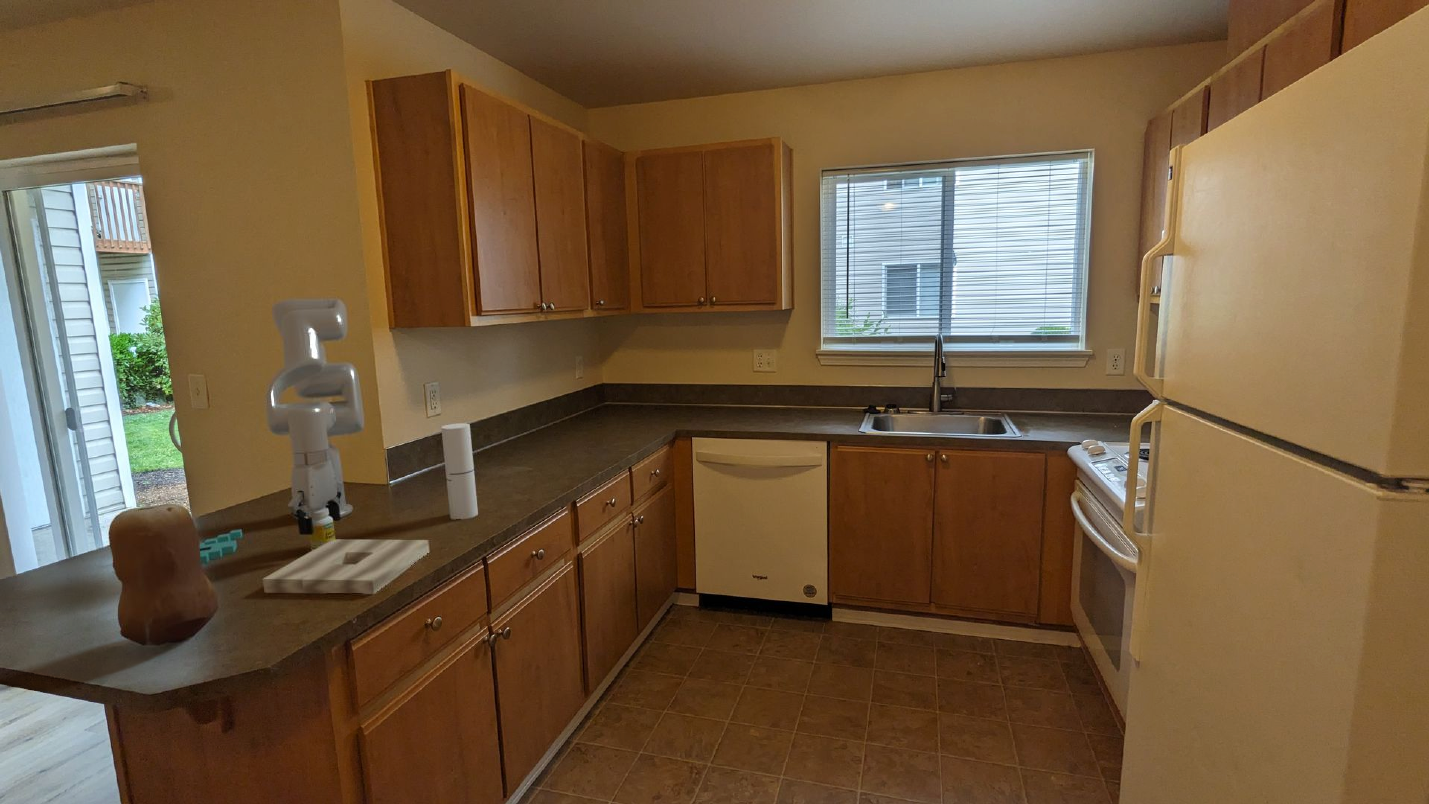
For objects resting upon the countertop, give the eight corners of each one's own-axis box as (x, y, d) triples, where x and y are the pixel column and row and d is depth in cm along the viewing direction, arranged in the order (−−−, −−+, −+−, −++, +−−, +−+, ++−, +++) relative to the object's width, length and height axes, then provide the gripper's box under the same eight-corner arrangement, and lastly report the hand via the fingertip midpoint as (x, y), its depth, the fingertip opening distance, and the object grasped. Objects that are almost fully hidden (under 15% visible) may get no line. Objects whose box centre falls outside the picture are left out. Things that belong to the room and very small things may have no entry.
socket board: (264, 592, 138) (262, 578, 138) (333, 551, 160) (332, 539, 159) (374, 594, 136) (372, 580, 136) (429, 552, 158) (428, 540, 157)
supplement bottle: (318, 544, 165) (313, 507, 163) (340, 543, 165) (336, 506, 163) (306, 552, 160) (301, 514, 158) (329, 551, 160) (324, 513, 158)
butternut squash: (186, 617, 128) (165, 492, 124) (239, 625, 125) (218, 496, 120) (103, 655, 115) (76, 516, 111) (159, 665, 112) (133, 522, 107)
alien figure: (144, 553, 164) (118, 583, 146) (142, 544, 164) (116, 573, 146) (242, 537, 173) (229, 564, 155) (241, 529, 173) (227, 555, 155)
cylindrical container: (468, 520, 179) (460, 428, 175) (444, 519, 181) (435, 428, 177) (483, 511, 186) (474, 423, 182) (459, 510, 188) (451, 423, 184)
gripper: (321, 450, 167) (330, 516, 170) (269, 466, 150) (279, 539, 153) (349, 449, 167) (357, 515, 169) (300, 466, 150) (310, 539, 152)
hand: (320, 527), depth 161 cm, fingers open, 9 cm apart
